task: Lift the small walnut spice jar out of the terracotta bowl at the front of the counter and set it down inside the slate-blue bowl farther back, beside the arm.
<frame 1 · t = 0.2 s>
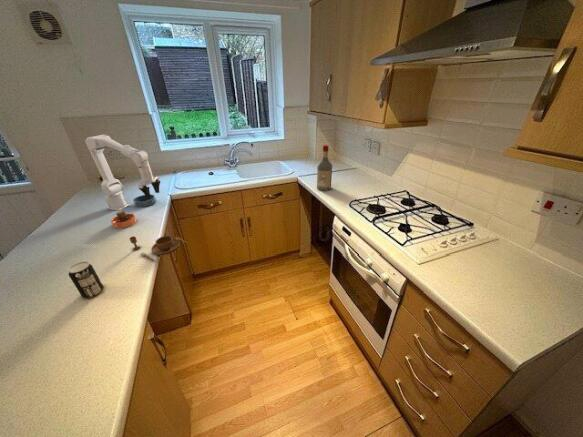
hand: (153, 195, 142), 10 cm above the worktop, tool pointing down, fingers open, 7 cm apart
spice jar: (125, 223, 132), resting on terracotta bowl
liquor: (324, 188, 171), on the worktop
terracotta bowl: (125, 224, 132), on the worktop
place setting: (161, 246, 113), on the worktop
blue bowl: (146, 203, 156), on the worktop
beverage can: (93, 292, 88), on the worktop
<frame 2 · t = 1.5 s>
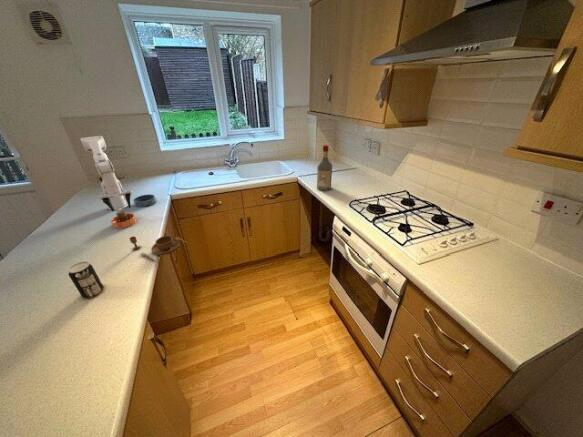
hand: (121, 208, 129), 9 cm above the worktop, tool pointing down, fingers open, 7 cm apart
nothing on the worktop moved.
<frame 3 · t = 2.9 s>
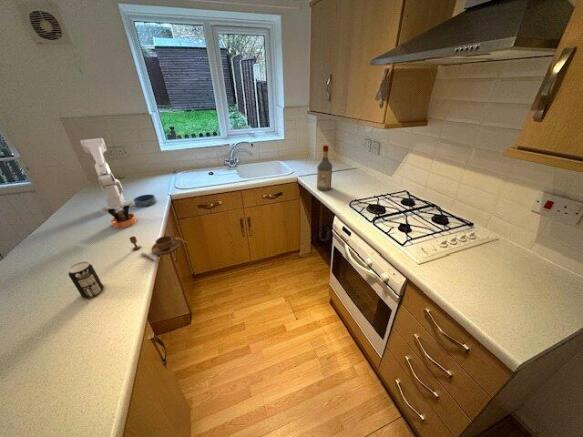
hand: (123, 219, 131), 3 cm above the worktop, tool pointing down, fingers closed on spice jar, 4 cm apart
spice jar: (125, 223, 132), point 1 cm above the worktop, touching gripper, terracotta bowl
everything else where it was.
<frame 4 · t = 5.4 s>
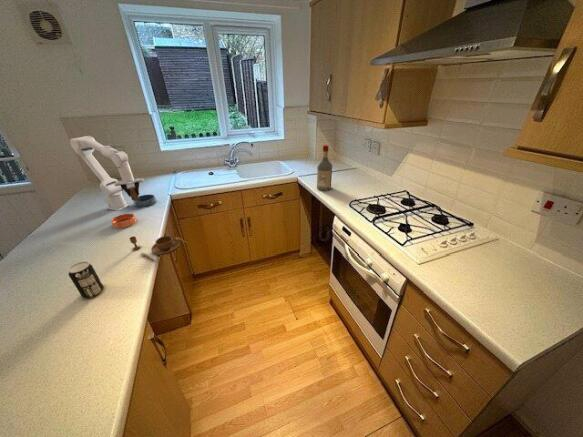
hand: (134, 195, 143), 10 cm above the worktop, tool pointing down, fingers closed on spice jar, 4 cm apart
spice jar: (135, 199, 144), point 7 cm above the worktop, touching gripper
everything else where it was.
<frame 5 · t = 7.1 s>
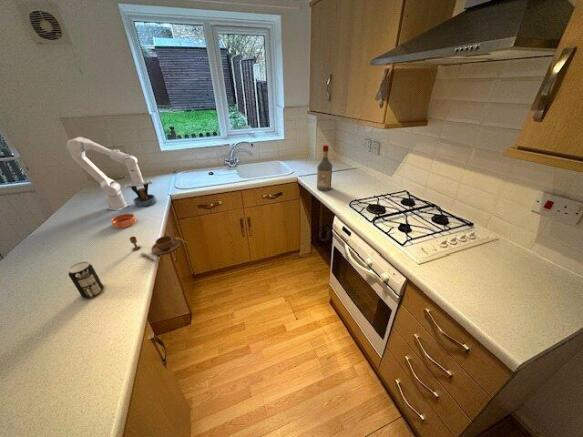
hand: (143, 196, 153), 5 cm above the worktop, tool pointing down, fingers closed on spice jar, 4 cm apart
spice jar: (144, 199, 155), point 3 cm above the worktop, touching gripper
everything else where it was.
when the fingers open (3 cm above the worktop, at t = 8.2 s): spice jar stays where it is, resting on blue bowl.
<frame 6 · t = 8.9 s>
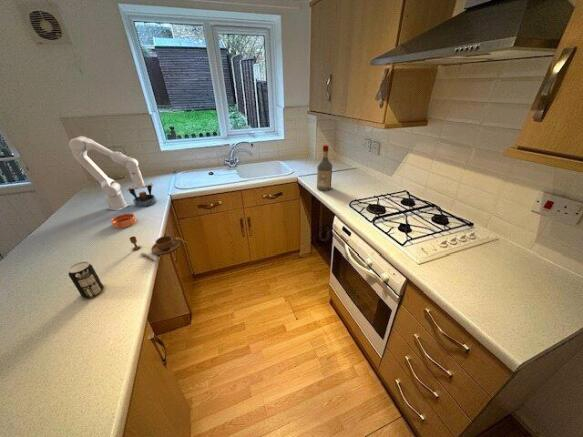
hand: (144, 198, 154), 4 cm above the worktop, tool pointing down, fingers open, 7 cm apart
spice jar: (145, 203, 156), resting on blue bowl
everything else where it was.
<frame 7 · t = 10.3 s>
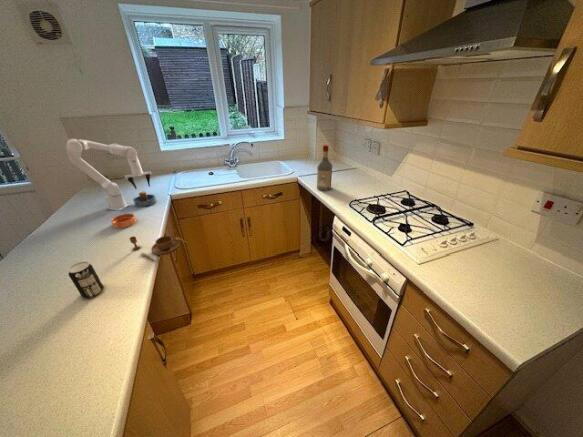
hand: (142, 187, 156), 9 cm above the worktop, tool pointing down, fingers open, 7 cm apart
nothing on the worktop moved.
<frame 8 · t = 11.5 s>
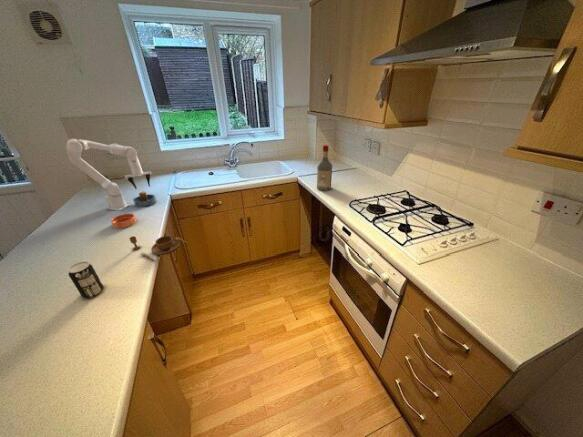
hand: (142, 187, 156), 9 cm above the worktop, tool pointing down, fingers open, 7 cm apart
nothing on the worktop moved.
at the end: spice jar inside the target area in the blue bowl (0.1 cm from its centre), point 0.5 cm above the blue bowl's base; the gripper is holding nothing; spice jar tilted 0° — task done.
